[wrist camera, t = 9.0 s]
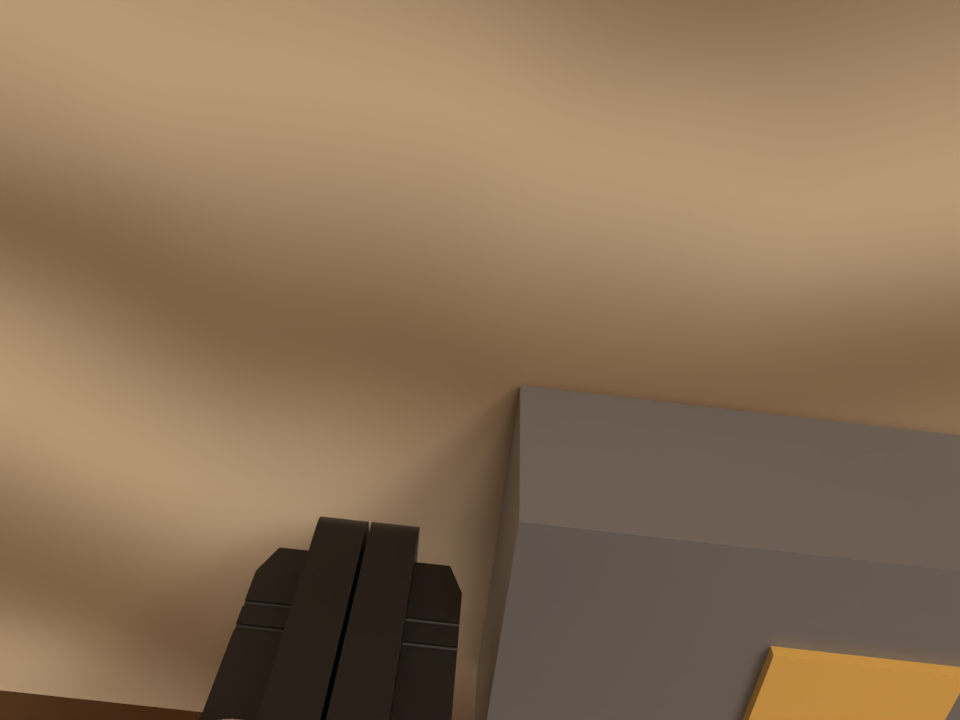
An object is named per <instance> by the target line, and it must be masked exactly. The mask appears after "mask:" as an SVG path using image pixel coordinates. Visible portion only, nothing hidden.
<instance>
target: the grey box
mask: <svg viewBox="0 0 960 720" xmlns="http://www.w3.org/2000/svg"><path fill="white" fill-rule="evenodd" d="M474 720H960V435H951V434H942V433H933V432H925V431H916V430H907V429H898V428H890V427H881V426H872V425H863V424H854V423H846V422H837V421H828V420H819V419H811V418H802V417H793V416H784V415H776V414H767V413H758V412H749V411H740V410H732V409H723V408H714V407H705V406H697V405H688V404H679V403H670V402H662V401H653V400H644V399H635V398H626V397H618V396H609V395H600V394H591V393H583V392H574V391H565V390H556V389H548V388H539V387H530V386H521V385H520V392H519V398H518V405H517V412H516V418H515V425H514V431H513V438H512V445H511V451H510V458H509V465H508V471H507V478H506V484H505V491H504V498H503V504H502V511H501V517H500V524H499V531H498V537H497V544H496V550H495V557H494V564H493V570H492V577H491V583H490V590H489V597H488V603H487V610H486V616H485V623H484V630H483V636H482V643H481V649H480V656H479V663H478V669H477V681H476V698H475V715H474Z"/></svg>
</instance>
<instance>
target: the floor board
mask: <svg viewBox="0 0 960 720" xmlns="http://www.w3.org/2000/svg"><path fill="white" fill-rule="evenodd" d="M520 385H521V386H530V387H539V388H548V389H556V390H565V391H574V392H583V393H591V394H600V395H609V396H618V397H626V398H635V399H644V400H653V401H662V402H670V403H679V404H688V405H697V406H705V407H714V408H723V409H732V410H740V411H749V412H758V413H767V414H776V415H784V416H793V417H802V418H811V419H819V420H828V421H837V422H846V423H854V424H863V425H872V426H881V427H890V428H898V429H907V430H916V431H925V432H933V433H942V434H951V435H960V0H0V690H3V691H12V692H21V693H30V694H40V695H49V696H58V697H67V698H77V699H86V700H95V701H104V702H113V703H123V704H132V705H141V706H150V707H160V708H169V709H178V710H187V711H197V712H203V709H204V707H205V704H206V702H207V699H208V696H209V694H210V691H211V688H212V686H213V683H214V680H215V678H216V675H217V672H218V670H219V667H220V664H221V662H222V659H223V656H224V654H225V651H226V648H227V646H228V643H229V641H230V638H231V635H232V633H233V630H234V629H235V628H236V622H237V619H238V617H239V614H240V611H241V609H242V606H243V605H244V604H245V598H246V595H247V593H248V590H249V587H250V585H251V582H252V580H253V577H254V574H255V572H256V570H257V569H258V568H259V567H260V566H261V565H262V564H263V563H264V562H265V561H266V560H267V559H268V558H269V557H270V556H271V555H272V554H273V553H274V552H275V551H276V550H277V549H278V548H279V547H281V548H290V549H299V550H308V551H309V547H310V544H311V541H312V538H313V535H314V531H315V528H316V525H317V522H318V520H319V518H320V517H321V516H322V517H332V518H341V519H350V520H359V521H368V522H369V530H370V526H371V523H372V522H379V523H388V524H397V525H406V526H415V527H420V531H419V543H418V554H417V562H419V563H428V564H437V565H446V566H450V567H451V569H452V571H453V574H454V576H455V578H456V580H457V583H458V585H459V587H460V590H461V592H462V600H461V612H460V624H459V636H458V648H457V660H456V672H455V684H454V696H453V708H452V720H474V715H475V698H476V681H477V669H478V663H479V656H480V649H481V643H482V636H483V630H484V623H485V616H486V610H487V603H488V597H489V590H490V583H491V577H492V570H493V564H494V557H495V550H496V544H497V537H498V531H499V524H500V517H501V511H502V504H503V498H504V491H505V484H506V478H507V471H508V465H509V458H510V451H511V445H512V438H513V431H514V425H515V418H516V412H517V405H518V398H519V392H520Z"/></svg>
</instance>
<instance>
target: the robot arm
mask: <svg viewBox="0 0 960 720" xmlns="http://www.w3.org/2000/svg"><path fill="white" fill-rule="evenodd" d="M419 531H420V527H415V526H406V525H397V524H388V523H379V522H372V523H371V526H370V530H369V522H368V521H359V520H350V519H341V518H332V517H322V516H321V517H320V518H319V520H318V522H317V525H316V528H315V531H314V535H313V538H312V541H311V544H310V547H309V551H308V550H299V549H290V548H281V547H279V548H278V549H277V550H276V551H275V552H274V553H273V554H272V555H271V556H270V557H269V558H268V559H267V560H266V561H265V562H264V563H263V564H262V565H261V566H260V567H259V568H258V569H257V570H256V572H255V574H254V577H253V580H252V582H251V585H250V587H249V590H248V593H247V595H246V598H245V604H244V605H243V606H242V609H241V611H240V614H239V617H238V619H237V622H236V628H235V629H234V630H233V633H232V635H231V638H230V641H229V643H228V646H227V648H226V651H225V654H224V656H223V659H222V662H221V664H220V667H219V670H218V672H217V675H216V678H215V680H214V683H213V686H212V688H211V691H210V694H209V696H208V699H207V702H206V704H205V707H204V709H203V712H202V715H201V717H200V719H199V720H452V708H453V696H454V684H455V672H456V660H457V648H458V636H459V624H460V612H461V600H462V592H461V590H460V587H459V585H458V583H457V580H456V578H455V576H454V574H453V571H452V569H451V567H450V566H446V565H437V564H428V563H419V562H417V554H418V543H419Z"/></svg>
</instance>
